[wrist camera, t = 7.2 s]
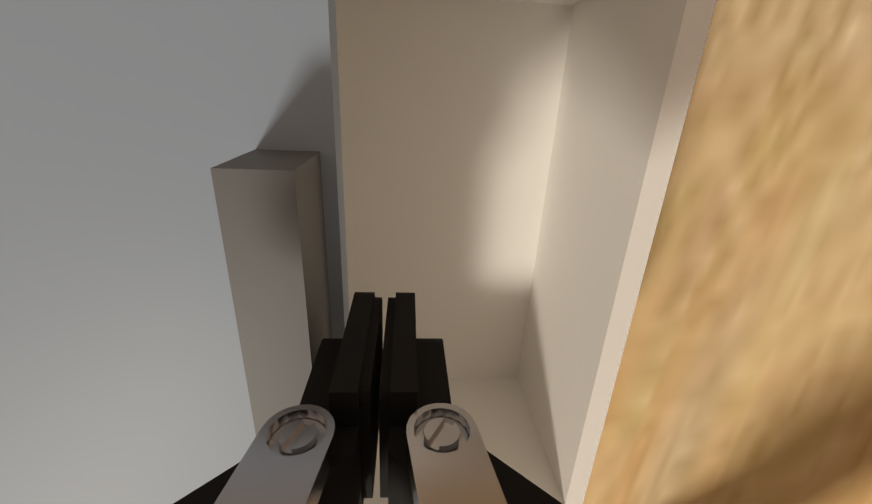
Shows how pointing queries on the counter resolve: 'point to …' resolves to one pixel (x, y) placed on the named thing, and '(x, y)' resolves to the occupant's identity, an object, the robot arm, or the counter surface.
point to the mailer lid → (161, 237)
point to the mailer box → (515, 196)
